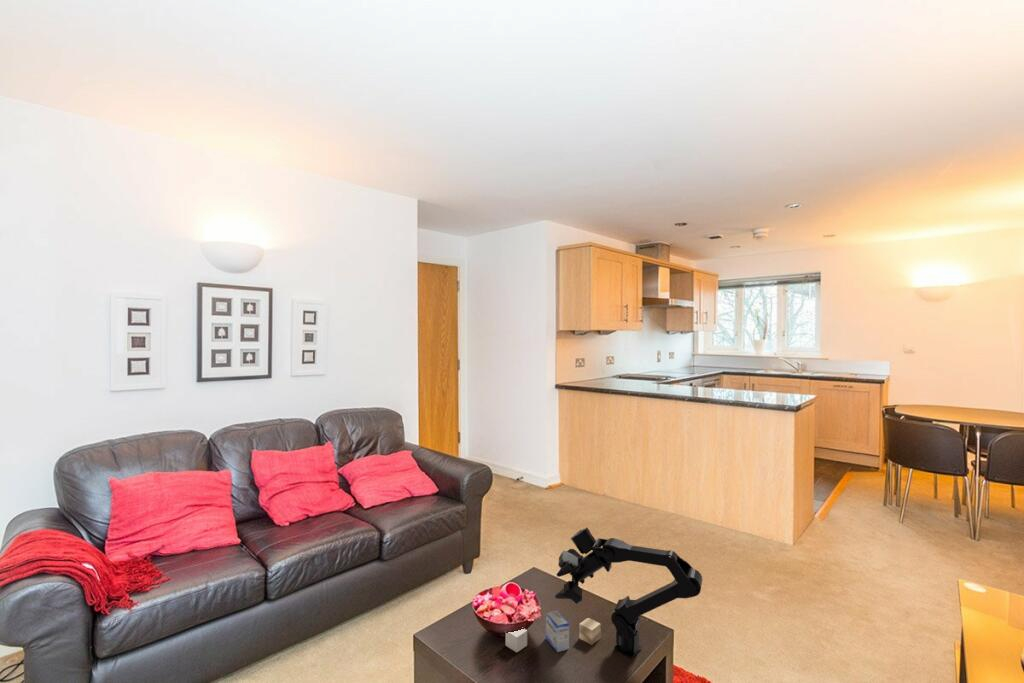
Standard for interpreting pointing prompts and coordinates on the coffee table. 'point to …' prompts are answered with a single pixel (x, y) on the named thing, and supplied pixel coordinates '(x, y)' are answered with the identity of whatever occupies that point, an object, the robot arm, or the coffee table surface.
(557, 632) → the medicine box
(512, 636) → the grey plastic cube
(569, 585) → the robot arm
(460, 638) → the coffee table surface
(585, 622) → the maple cube
